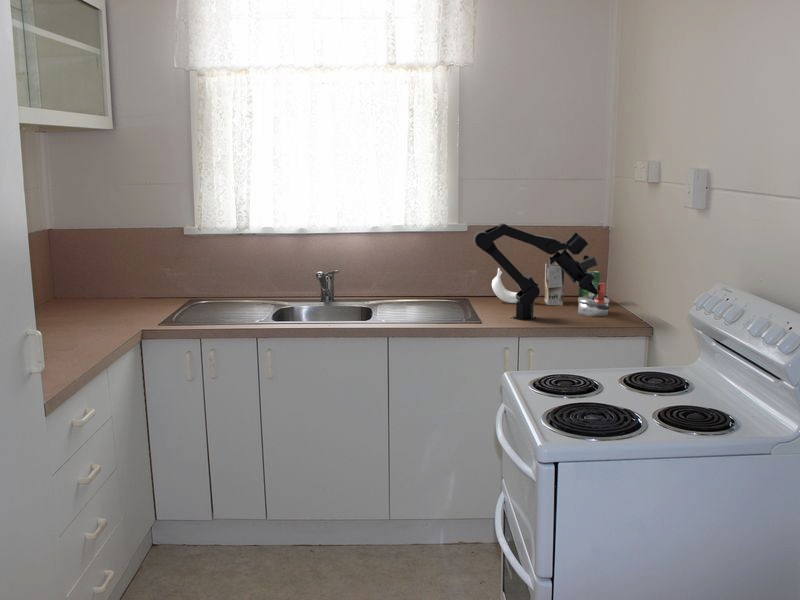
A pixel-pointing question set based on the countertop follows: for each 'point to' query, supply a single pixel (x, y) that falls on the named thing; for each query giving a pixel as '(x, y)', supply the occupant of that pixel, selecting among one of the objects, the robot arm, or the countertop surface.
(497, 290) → the banana
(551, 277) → the coffee box
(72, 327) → the countertop surface
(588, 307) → the pot
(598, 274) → the coffee box
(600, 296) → the lid
